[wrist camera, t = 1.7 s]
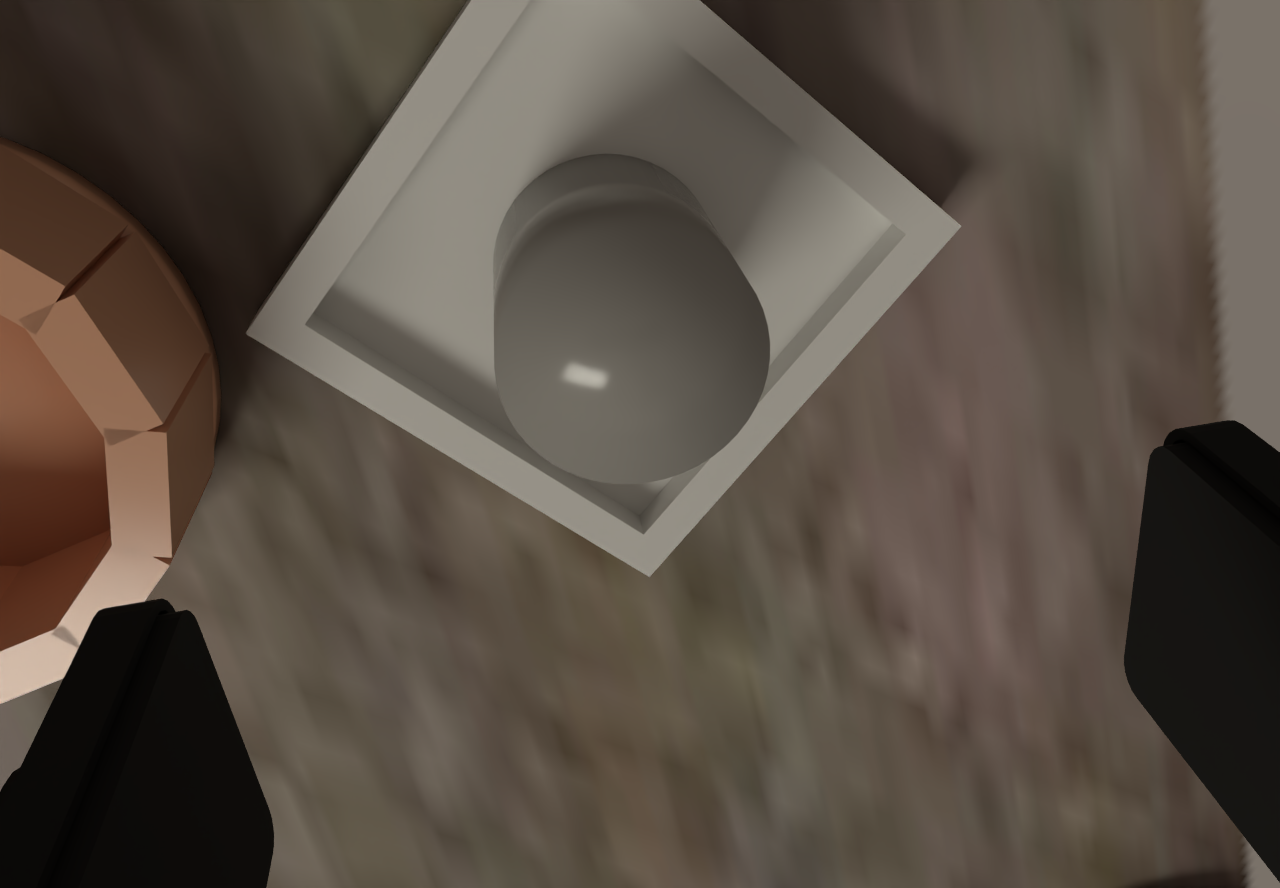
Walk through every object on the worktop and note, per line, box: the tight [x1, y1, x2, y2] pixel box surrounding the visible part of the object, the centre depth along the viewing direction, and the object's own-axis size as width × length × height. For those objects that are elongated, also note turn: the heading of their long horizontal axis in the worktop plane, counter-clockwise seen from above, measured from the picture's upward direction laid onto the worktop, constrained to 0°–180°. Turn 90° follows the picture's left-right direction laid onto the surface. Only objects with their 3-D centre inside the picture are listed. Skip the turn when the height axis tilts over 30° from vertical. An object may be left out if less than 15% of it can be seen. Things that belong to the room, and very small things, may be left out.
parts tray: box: [246, 0, 961, 577], centre depth 22 cm, size 10×10×1 cm
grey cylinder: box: [493, 154, 770, 484], centre depth 20 cm, size 4×4×5 cm
